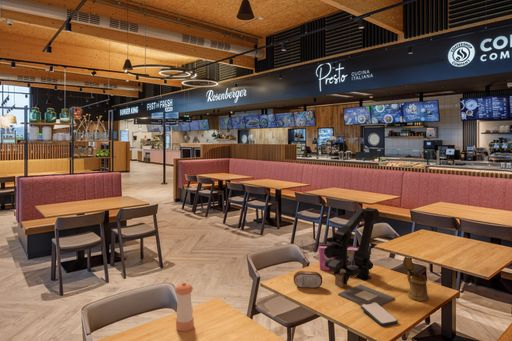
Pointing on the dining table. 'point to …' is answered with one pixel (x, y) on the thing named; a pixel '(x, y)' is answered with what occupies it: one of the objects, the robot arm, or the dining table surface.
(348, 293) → the mat
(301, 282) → the portable speaker
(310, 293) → the dining table surface
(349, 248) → the gum box
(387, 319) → the phone case
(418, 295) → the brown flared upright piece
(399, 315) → the dining table surface
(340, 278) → the block
